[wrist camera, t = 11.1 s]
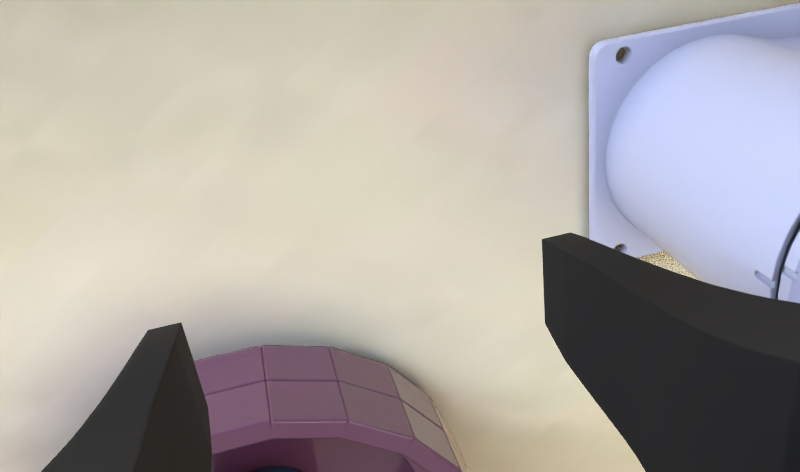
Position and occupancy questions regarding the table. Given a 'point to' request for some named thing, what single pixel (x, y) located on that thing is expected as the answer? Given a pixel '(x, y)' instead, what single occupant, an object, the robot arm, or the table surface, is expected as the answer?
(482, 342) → the table surface
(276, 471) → the glue stick
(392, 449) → the bowl
